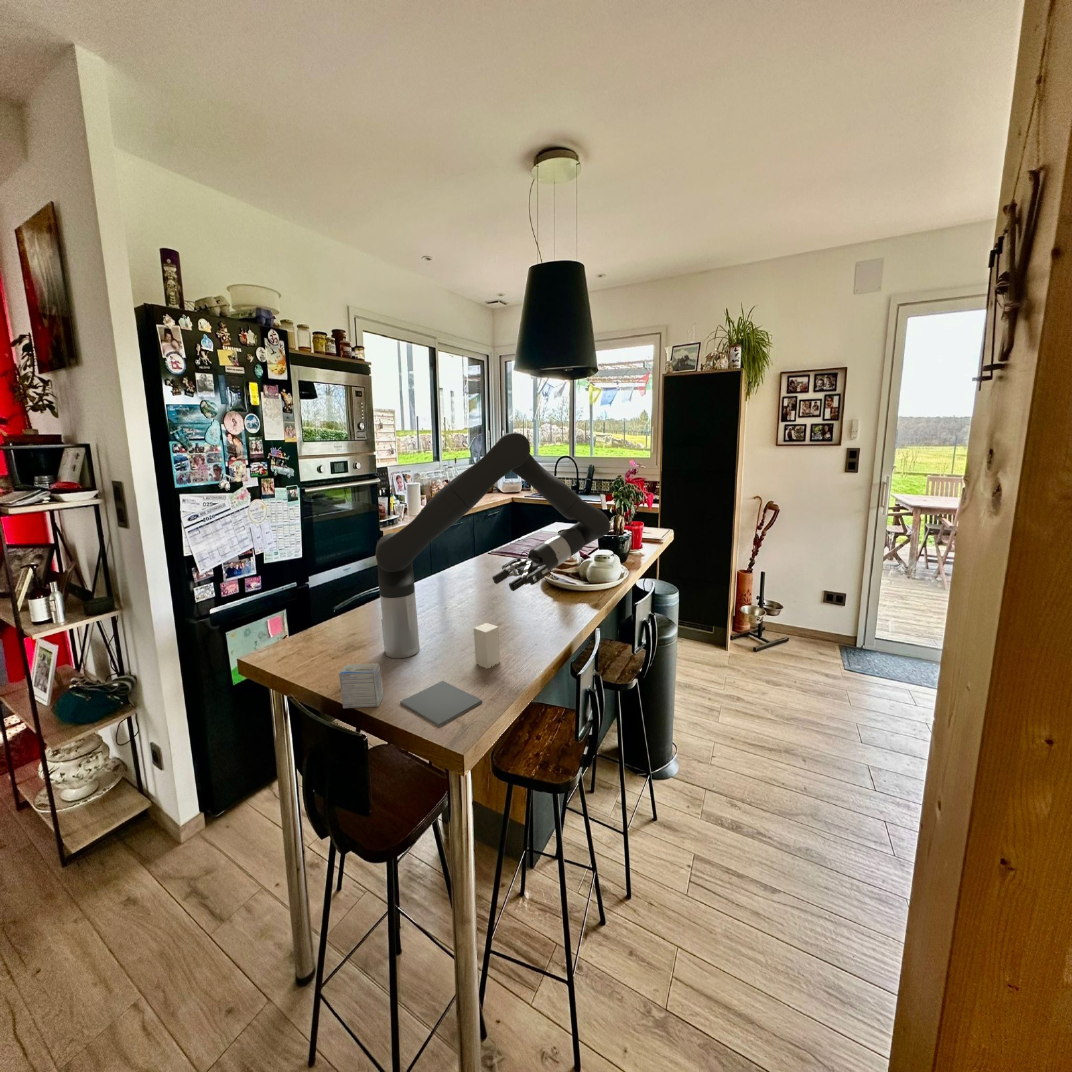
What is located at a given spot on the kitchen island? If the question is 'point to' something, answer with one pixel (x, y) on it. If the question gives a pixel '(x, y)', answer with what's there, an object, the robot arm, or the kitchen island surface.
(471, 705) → the slate mat
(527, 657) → the kitchen island surface
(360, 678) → the medicine box
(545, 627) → the kitchen island surface
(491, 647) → the cream block
